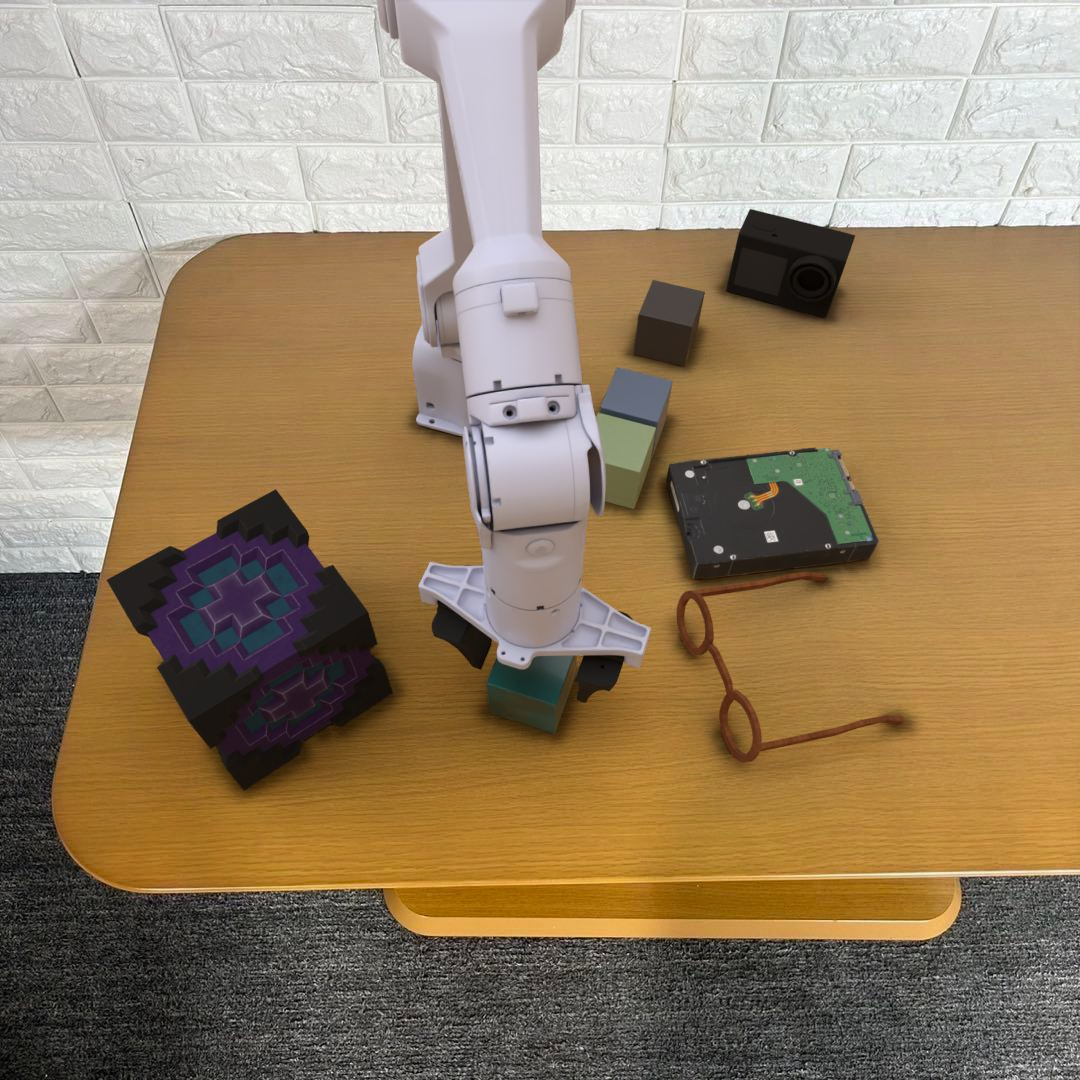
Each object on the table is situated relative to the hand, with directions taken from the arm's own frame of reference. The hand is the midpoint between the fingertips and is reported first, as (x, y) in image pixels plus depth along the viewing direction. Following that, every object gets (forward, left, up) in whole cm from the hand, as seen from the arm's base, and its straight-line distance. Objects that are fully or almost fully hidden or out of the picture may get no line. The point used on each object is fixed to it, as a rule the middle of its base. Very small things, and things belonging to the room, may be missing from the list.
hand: (533, 672), depth 63 cm
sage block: (0, +21, -4) cm, 21 cm away
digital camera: (+9, +49, -4) cm, 50 cm away
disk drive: (+13, +21, -4) cm, 25 cm away
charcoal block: (0, +39, -4) cm, 39 cm away
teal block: (0, 0, -4) cm, 4 cm away
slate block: (0, +27, -4) cm, 27 cm away
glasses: (+17, +8, -4) cm, 19 cm away
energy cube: (-18, -5, -4) cm, 19 cm away
